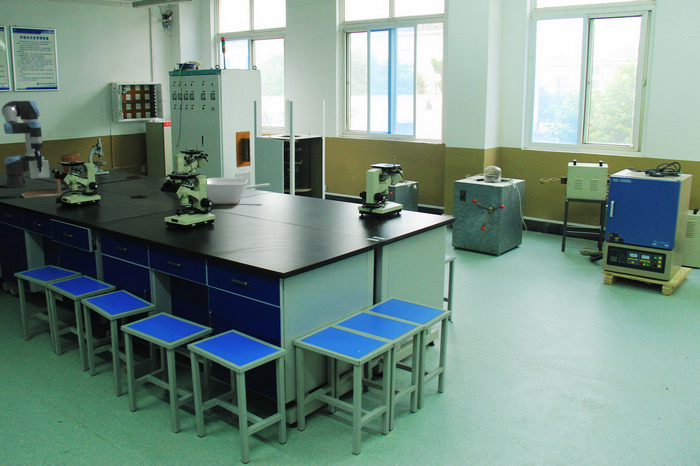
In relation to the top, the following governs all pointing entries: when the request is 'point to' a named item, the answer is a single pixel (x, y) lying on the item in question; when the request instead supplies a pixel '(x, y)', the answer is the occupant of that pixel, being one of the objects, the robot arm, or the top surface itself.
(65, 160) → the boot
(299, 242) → the top surface
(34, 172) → the door panel
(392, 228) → the top surface
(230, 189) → the pot
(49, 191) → the brown l-shaped stand
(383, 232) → the top surface
